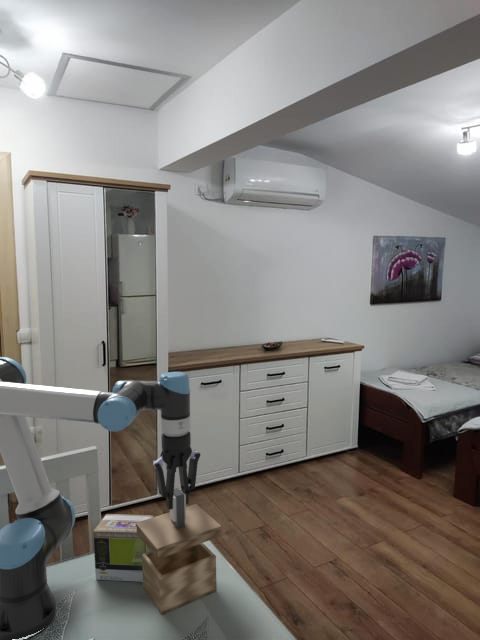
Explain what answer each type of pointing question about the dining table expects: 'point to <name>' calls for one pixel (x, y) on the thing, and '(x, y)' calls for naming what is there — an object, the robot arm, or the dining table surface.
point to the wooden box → (179, 577)
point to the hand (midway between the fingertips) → (177, 517)
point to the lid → (177, 529)
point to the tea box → (119, 548)
